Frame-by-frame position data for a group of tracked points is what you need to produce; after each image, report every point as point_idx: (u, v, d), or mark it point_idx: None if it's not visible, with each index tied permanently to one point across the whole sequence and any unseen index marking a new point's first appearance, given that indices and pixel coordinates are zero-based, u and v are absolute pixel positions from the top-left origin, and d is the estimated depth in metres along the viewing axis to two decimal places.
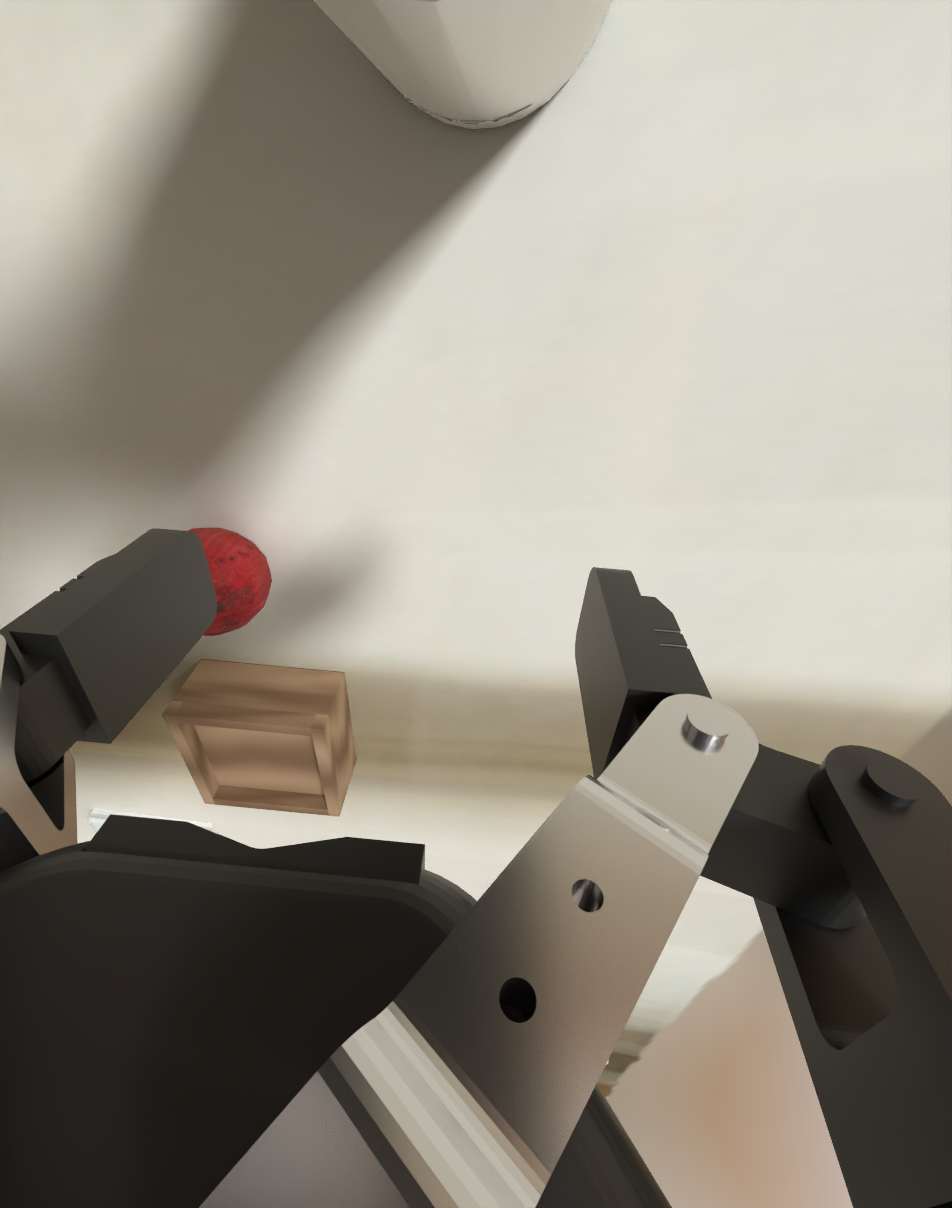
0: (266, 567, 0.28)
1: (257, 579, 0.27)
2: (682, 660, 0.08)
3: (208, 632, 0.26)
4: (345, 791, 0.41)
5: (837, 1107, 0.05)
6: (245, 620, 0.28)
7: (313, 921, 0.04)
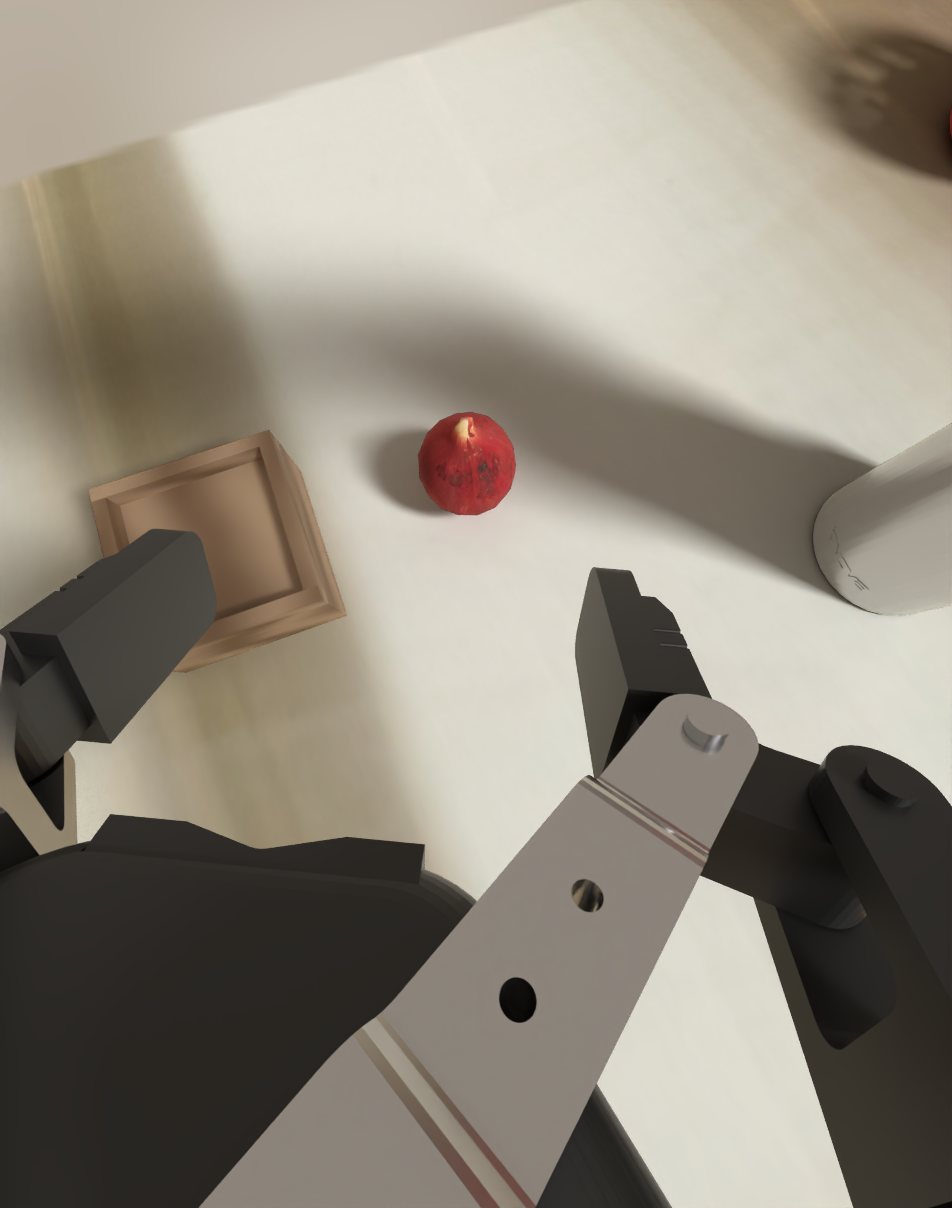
0: (492, 508, 0.31)
1: (494, 500, 0.29)
2: (682, 660, 0.08)
3: (449, 461, 0.27)
4: None
5: (836, 1105, 0.05)
6: (456, 494, 0.28)
7: (313, 921, 0.04)
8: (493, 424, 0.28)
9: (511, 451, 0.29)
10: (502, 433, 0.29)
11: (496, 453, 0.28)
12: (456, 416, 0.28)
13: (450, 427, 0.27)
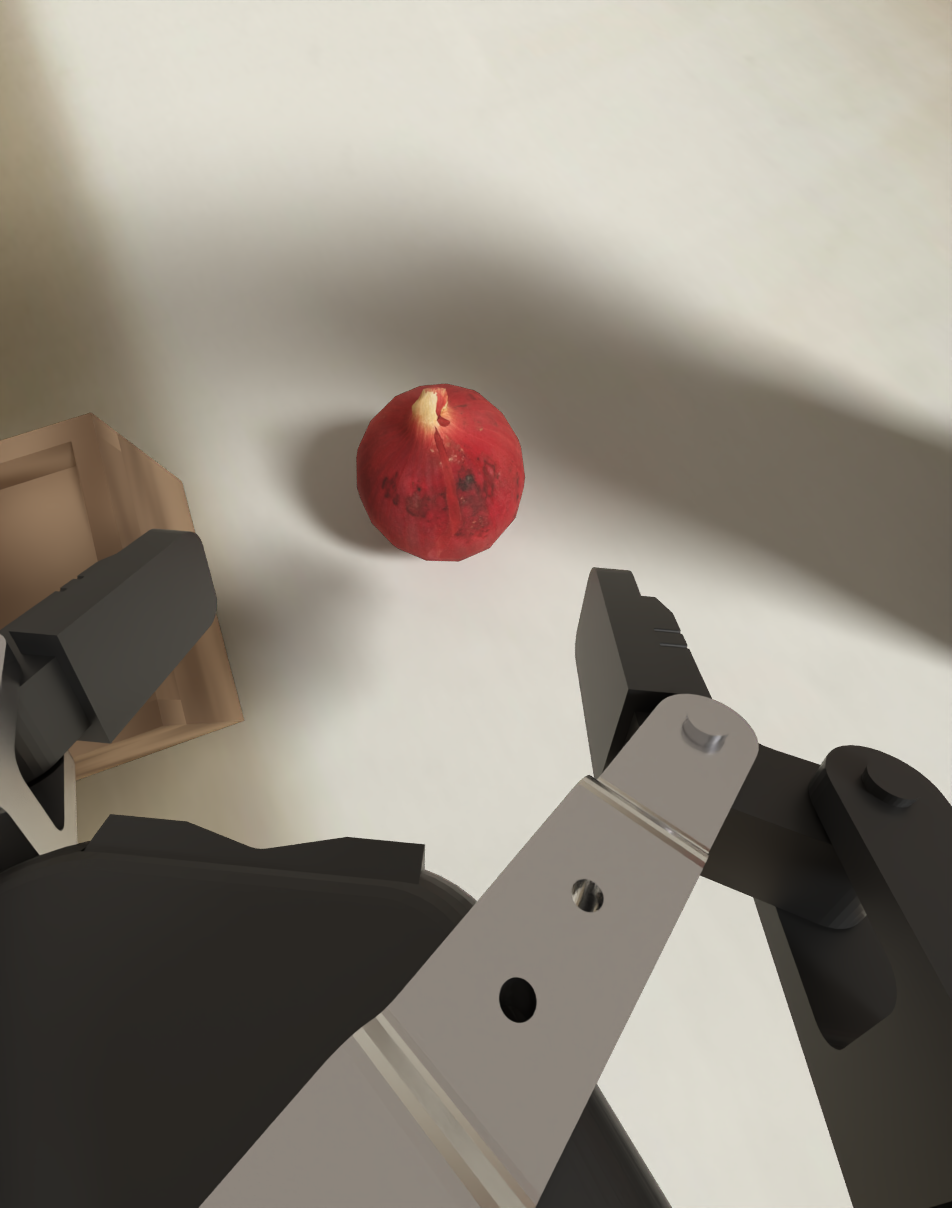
0: (483, 549, 0.18)
1: (487, 538, 0.17)
2: (682, 660, 0.08)
3: (403, 470, 0.15)
4: None
5: (837, 1107, 0.05)
6: (419, 530, 0.16)
7: (313, 921, 0.04)
8: (486, 405, 0.16)
9: (518, 454, 0.16)
10: (502, 421, 0.16)
11: (490, 457, 0.15)
12: (419, 389, 0.16)
13: (407, 407, 0.15)
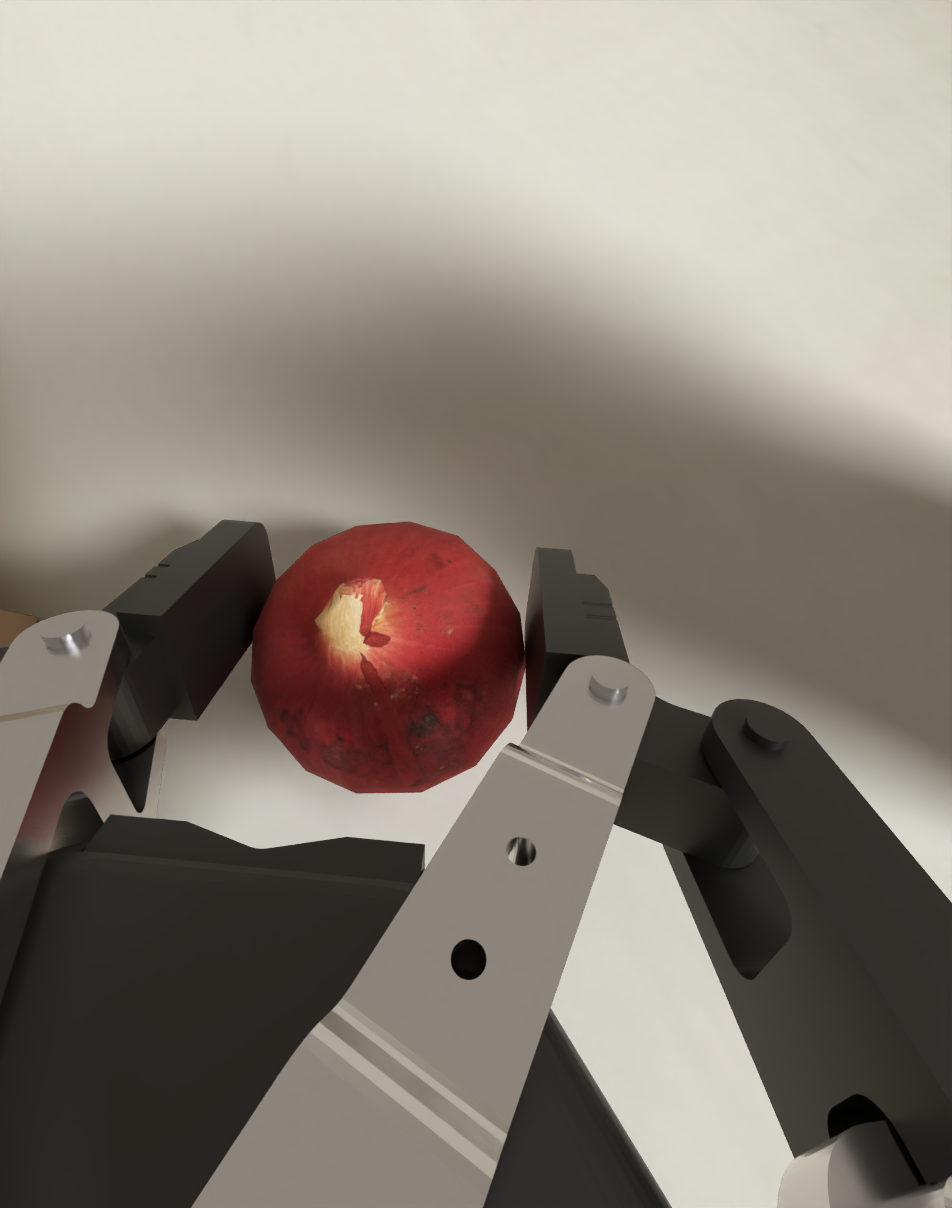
0: None
1: (465, 769, 0.10)
2: (608, 630, 0.09)
3: (311, 709, 0.08)
4: None
5: (755, 1031, 0.05)
6: (348, 782, 0.09)
7: (313, 921, 0.04)
8: (462, 572, 0.09)
9: (515, 640, 0.10)
10: (489, 595, 0.10)
11: (468, 674, 0.09)
12: (347, 548, 0.09)
13: (319, 593, 0.08)
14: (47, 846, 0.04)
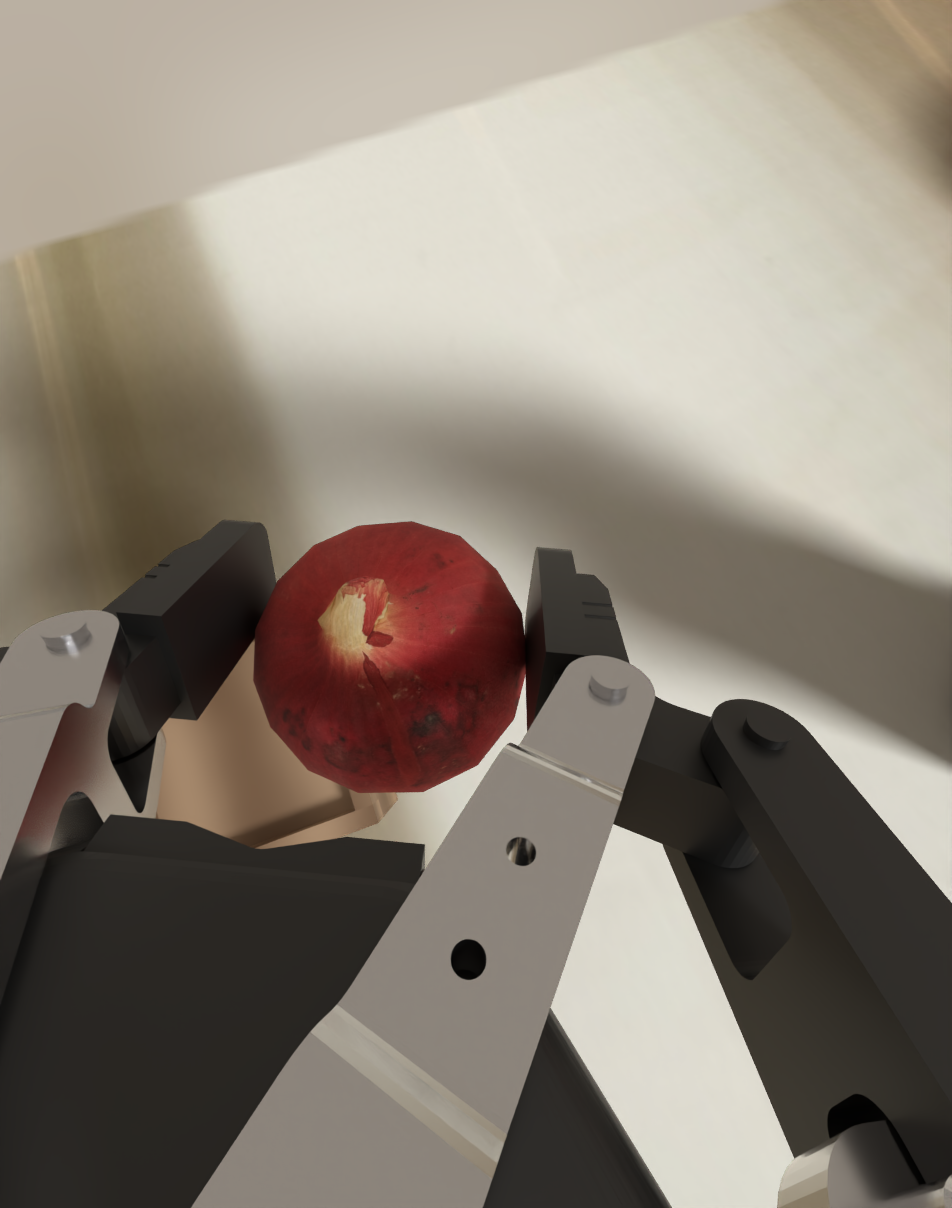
0: None
1: (467, 769, 0.10)
2: (608, 630, 0.09)
3: (314, 709, 0.08)
4: None
5: (755, 1031, 0.05)
6: (350, 782, 0.09)
7: (313, 921, 0.04)
8: (463, 571, 0.09)
9: (517, 639, 0.10)
10: (491, 595, 0.10)
11: (470, 675, 0.09)
12: (349, 548, 0.09)
13: (322, 593, 0.08)
14: (47, 846, 0.04)
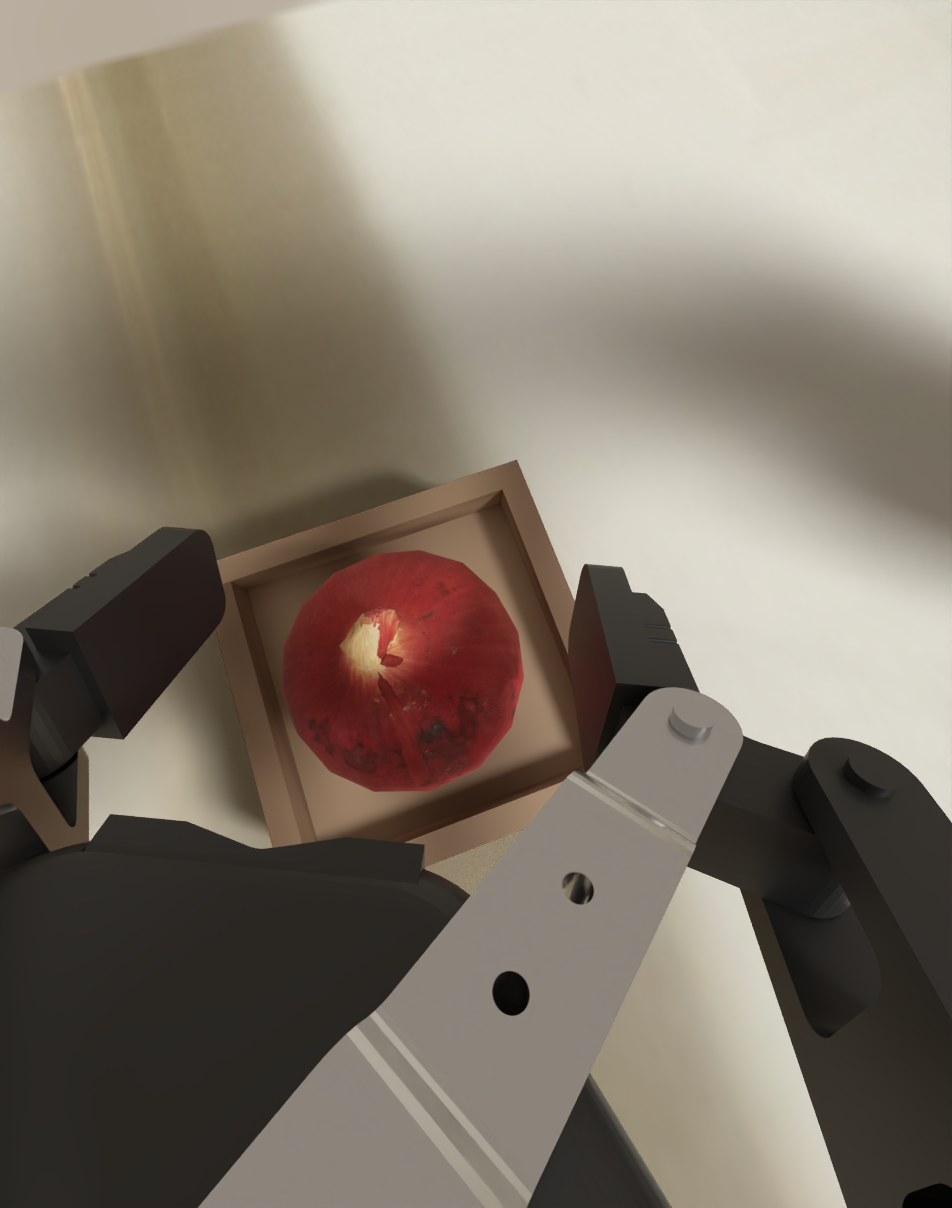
0: None
1: (470, 771, 0.12)
2: (671, 655, 0.08)
3: (336, 719, 0.10)
4: None
5: (823, 1093, 0.05)
6: (366, 782, 0.11)
7: (313, 921, 0.04)
8: (465, 598, 0.11)
9: (513, 656, 0.11)
10: (489, 617, 0.11)
11: (470, 689, 0.10)
12: (365, 579, 0.10)
13: (342, 619, 0.10)
14: None
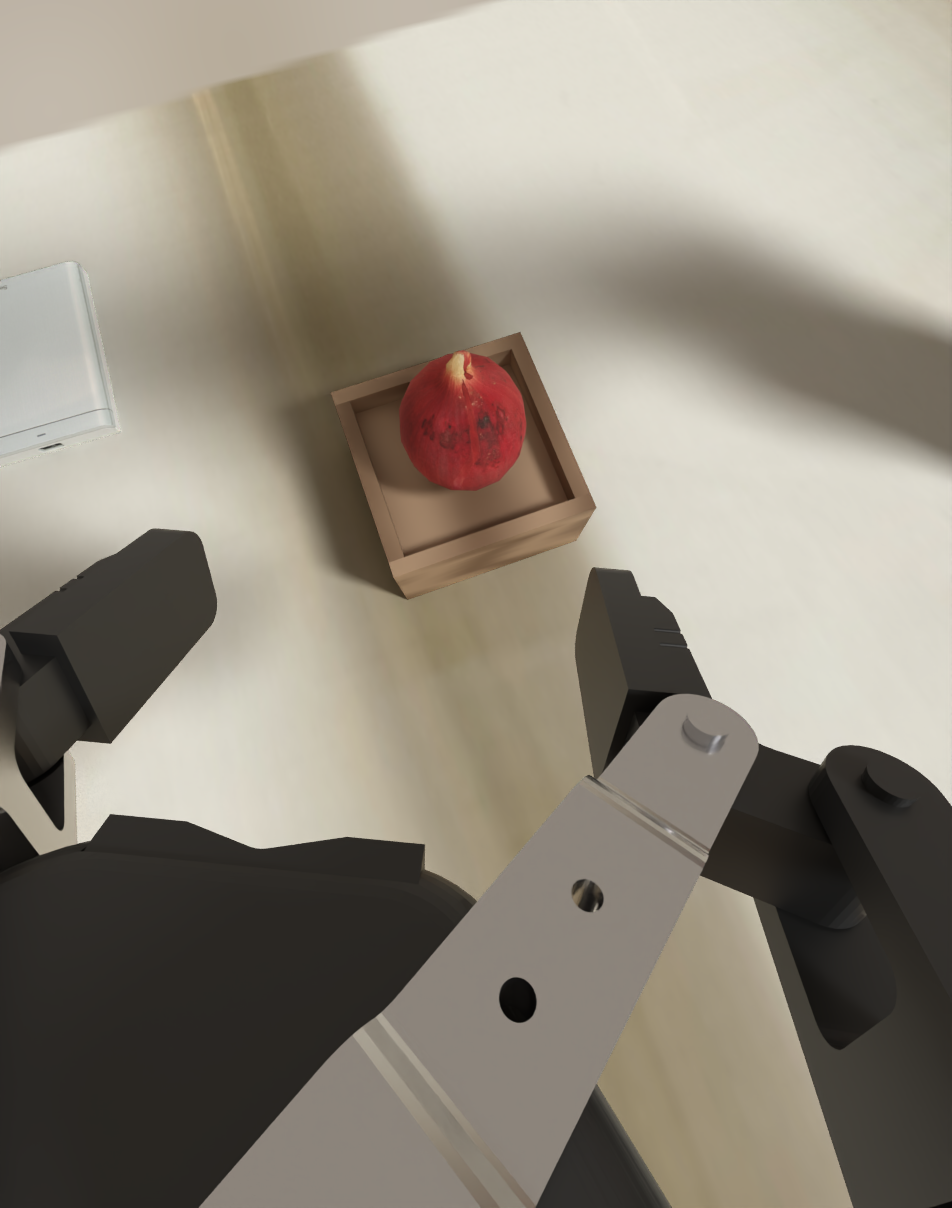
0: (495, 481, 0.24)
1: (498, 469, 0.22)
2: (682, 660, 0.08)
3: (439, 413, 0.20)
4: (406, 584, 0.26)
5: (837, 1107, 0.05)
6: (448, 460, 0.21)
7: (312, 921, 0.04)
8: (497, 367, 0.21)
9: (521, 404, 0.22)
10: (509, 379, 0.22)
11: (501, 404, 0.21)
12: (448, 355, 0.21)
13: (440, 368, 0.20)
14: None
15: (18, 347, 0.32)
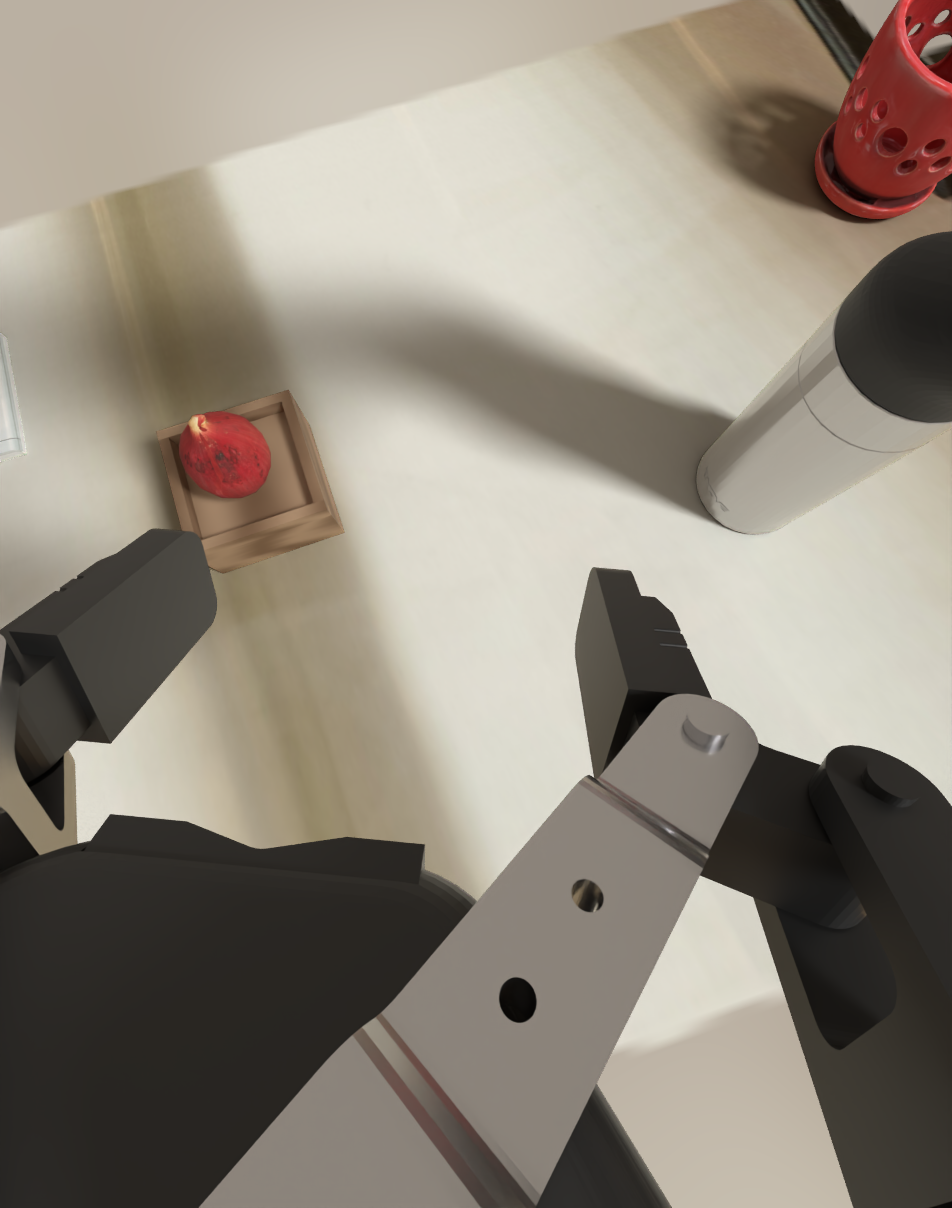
0: (250, 492, 0.36)
1: (244, 485, 0.35)
2: (682, 660, 0.08)
3: (190, 451, 0.33)
4: None
5: (835, 1106, 0.05)
6: (204, 479, 0.34)
7: (313, 921, 0.04)
8: (235, 421, 0.34)
9: (255, 444, 0.35)
10: (244, 429, 0.34)
11: (232, 445, 0.33)
12: (203, 414, 0.34)
13: None
14: None
15: None
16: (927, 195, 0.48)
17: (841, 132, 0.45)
